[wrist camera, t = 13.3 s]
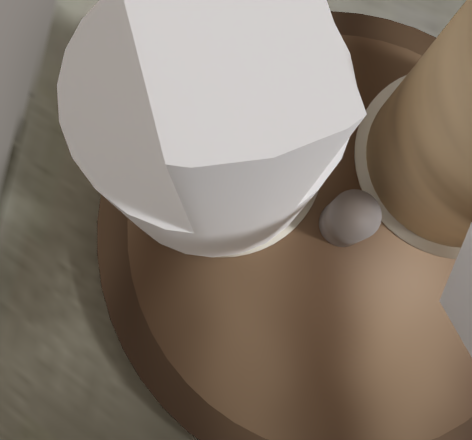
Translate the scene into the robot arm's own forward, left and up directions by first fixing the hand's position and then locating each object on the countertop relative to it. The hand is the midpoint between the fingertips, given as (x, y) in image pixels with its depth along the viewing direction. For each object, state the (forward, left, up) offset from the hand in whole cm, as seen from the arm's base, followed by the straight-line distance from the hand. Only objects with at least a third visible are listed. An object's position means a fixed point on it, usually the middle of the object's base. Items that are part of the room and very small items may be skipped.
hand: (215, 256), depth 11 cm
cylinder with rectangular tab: (0, -5, -7) cm, 8 cm away
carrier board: (-5, -2, -8) cm, 10 cm away
